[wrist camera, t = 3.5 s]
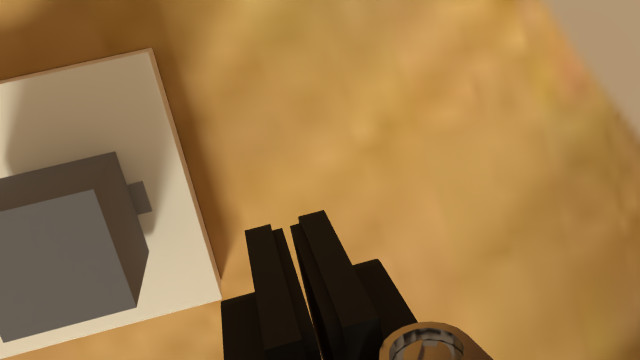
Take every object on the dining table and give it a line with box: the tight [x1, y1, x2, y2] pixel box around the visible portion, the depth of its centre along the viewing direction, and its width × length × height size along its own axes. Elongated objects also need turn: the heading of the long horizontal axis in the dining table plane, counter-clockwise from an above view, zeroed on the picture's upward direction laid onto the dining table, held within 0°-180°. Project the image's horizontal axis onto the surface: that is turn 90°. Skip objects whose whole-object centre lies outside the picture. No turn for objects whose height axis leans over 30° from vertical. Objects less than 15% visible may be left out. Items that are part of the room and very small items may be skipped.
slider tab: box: [0, 151, 149, 343], centre depth 18 cm, size 4×4×4 cm
